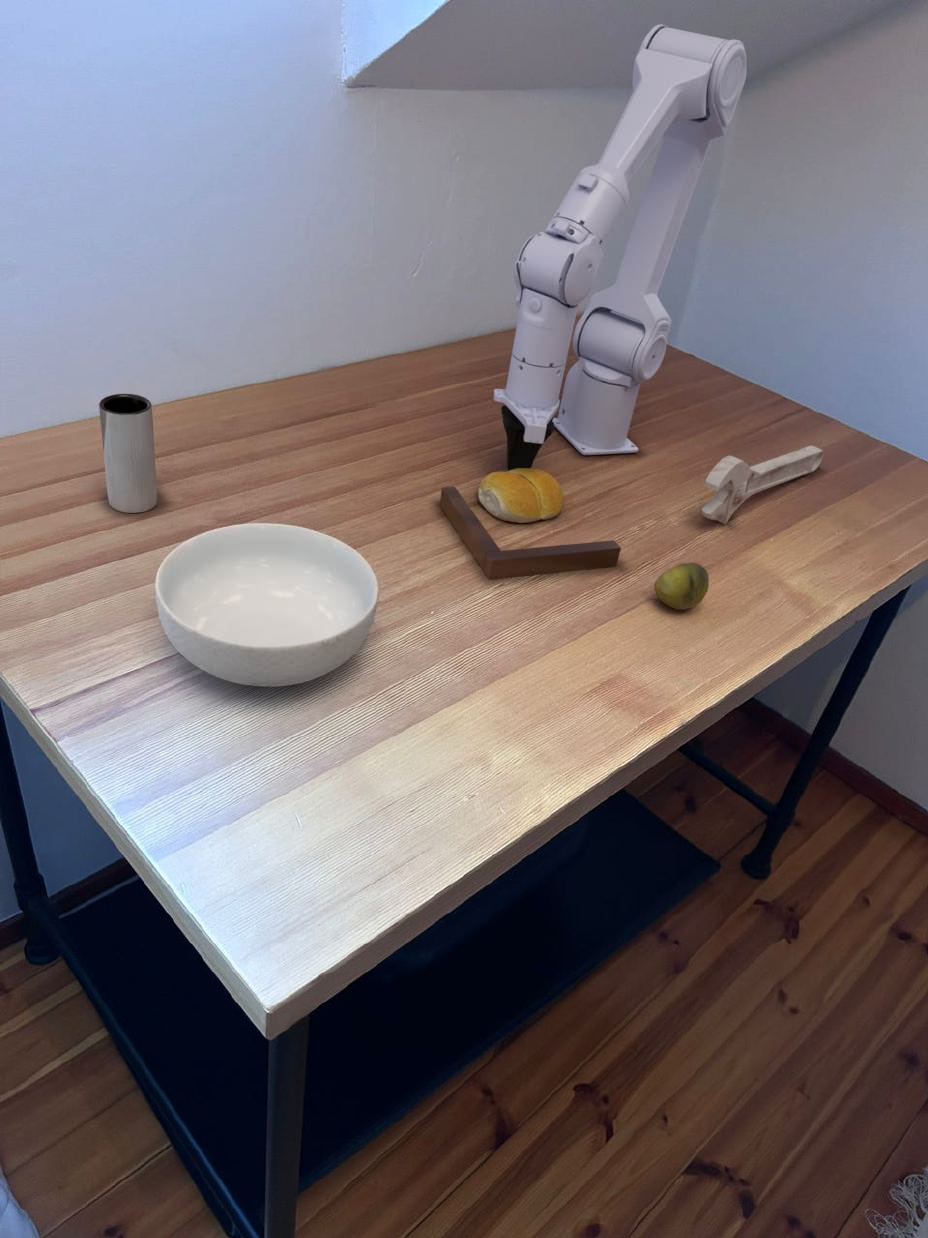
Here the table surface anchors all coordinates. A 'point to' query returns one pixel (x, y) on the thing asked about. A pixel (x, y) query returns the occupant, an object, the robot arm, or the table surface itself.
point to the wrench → (753, 479)
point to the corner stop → (521, 559)
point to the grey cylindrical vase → (129, 452)
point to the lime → (682, 585)
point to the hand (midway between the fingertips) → (516, 473)
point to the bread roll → (521, 495)
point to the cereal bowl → (266, 602)
